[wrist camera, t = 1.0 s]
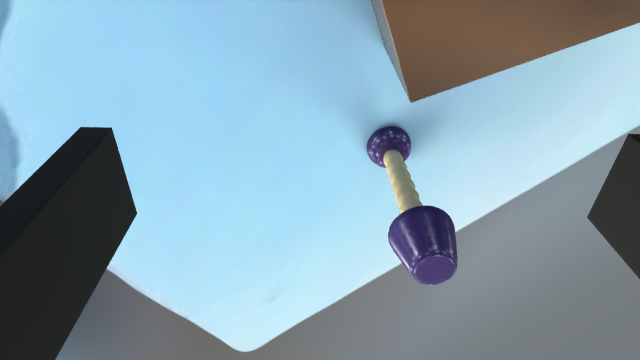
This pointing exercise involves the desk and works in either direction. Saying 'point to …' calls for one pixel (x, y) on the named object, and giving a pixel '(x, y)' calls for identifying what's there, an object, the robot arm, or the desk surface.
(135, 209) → the robot arm
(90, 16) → the desk surface
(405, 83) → the wood block with slats
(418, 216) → the toy lamp
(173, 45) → the desk surface
